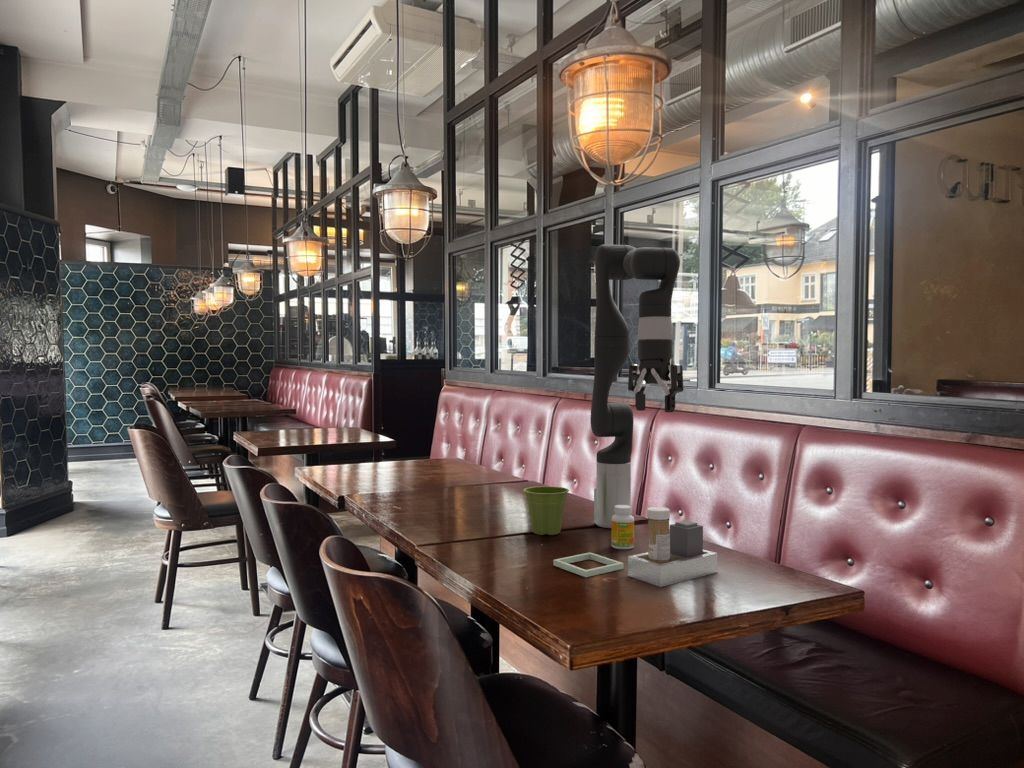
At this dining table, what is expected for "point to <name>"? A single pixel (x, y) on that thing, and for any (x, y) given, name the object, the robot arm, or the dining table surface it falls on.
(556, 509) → the plant pot
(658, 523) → the sprinkles bottle
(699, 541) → the grey stepped square plug
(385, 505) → the dining table surface
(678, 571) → the divided grey caddy
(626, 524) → the supplement bottle
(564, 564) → the tray frame
